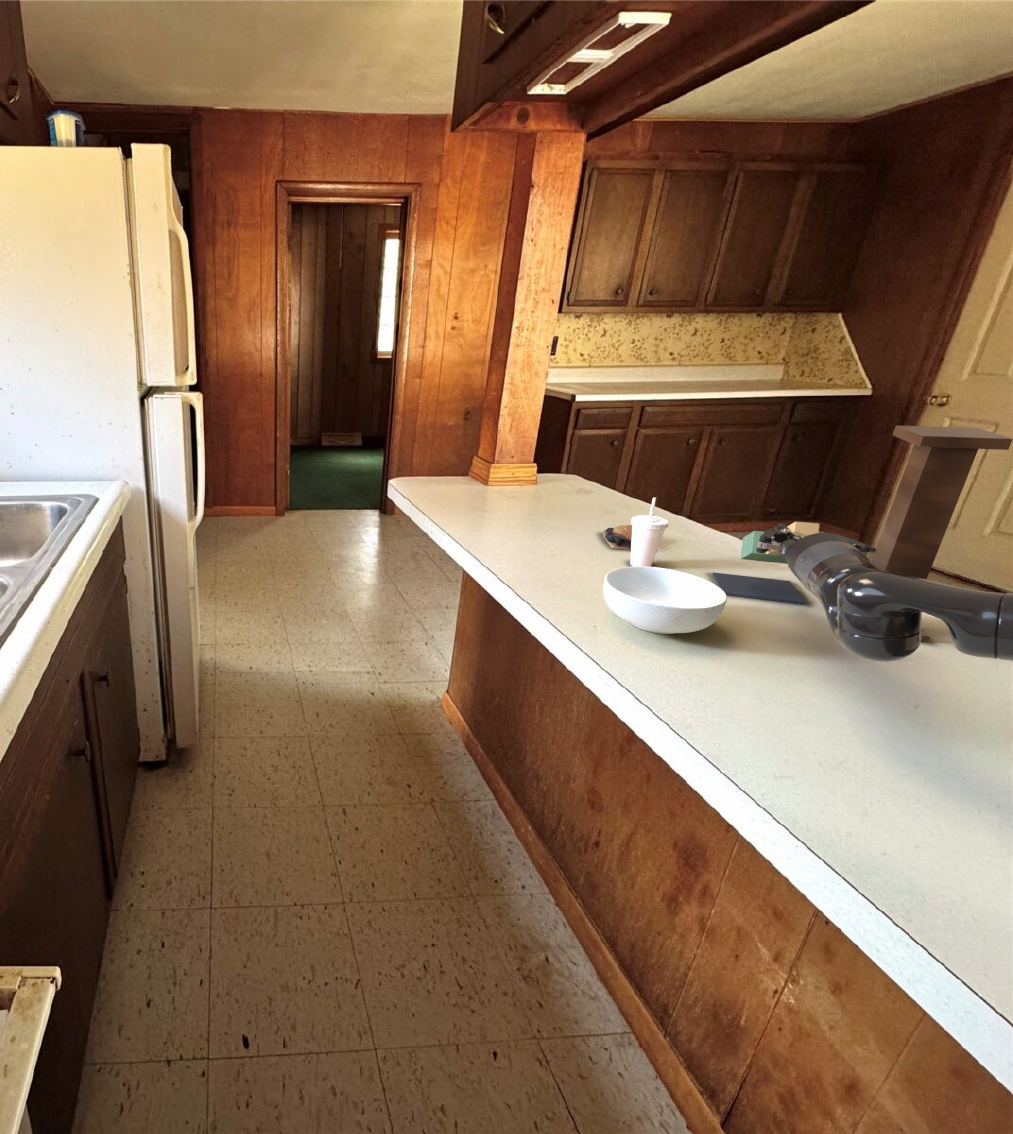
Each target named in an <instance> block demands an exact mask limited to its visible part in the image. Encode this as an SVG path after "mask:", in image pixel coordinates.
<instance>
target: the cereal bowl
mask: <svg viewBox="0 0 1013 1134" xmlns="http://www.w3.org/2000/svg"><path fill="white" fill-rule="evenodd" d="M602 587H603V588H602V589H603V590H602V592H603V599H604V601H605V603H606V606H608V608H609V609H610V610H611V611H612V613H614V615H616V616H618V617H619V618H620V619H622V620H623V621H626V622H628V623H630V624H631V625H632V626H633V627H636V628H638V629H640V630H642V631H646V632H649V633H653V634H658V635H659V634H660V635H674V634H687V633H688V634H689V633H694V632H698V631H702V630H704V629H706V628H709V627H711V626H712V625H713V624H714V623H715V622H717V620H718V619H719V618H720V616H721V615H722V614H723V612H724V610H725V606H726V605H727V604H726V603H727V600H728V595H726V594H725V592H724V591H723V590H722V589H721V588H719V587H718V585H717V584H716V583H713V582H711V581H709V580H707V579H705V578H703V577H699V576H696V575H694V574H691V573H688V572H684V571H680V570H675V569H672V568H665V567H664V568H663V567H658V566H651V567H648V566H632V565H631V566H623V567H618V568H614V569H612V570H610V571H609V572H607V573H606V574H605V576H604V579H603V586H602Z"/></svg>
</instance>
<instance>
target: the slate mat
mask: <svg viewBox="0 0 1013 1134" xmlns="http://www.w3.org/2000/svg"><path fill="white" fill-rule="evenodd" d="M711 576H712V577H713V579H714V581H715V584H716V586H718V587H719V588H721V589H722V590H723V591H724V592H725V594H726V596H732V597H738V598H739V597H740V598H747V599H757V600H764V601H771V602H772V601H773V602H779V603H789V604H797V605H807V601H806V600H805V599H804V597H803V596H802V594H800V592H799V590H798V589H797V588H796V587H795V585H794V584H793V583H792V581H790V580H785V579H776V578H767V577H757V576H748V575H741V574H731V573H722V572H712V575H711Z"/></svg>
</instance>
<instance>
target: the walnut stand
mask: <svg viewBox="0 0 1013 1134" xmlns="http://www.w3.org/2000/svg"><path fill="white" fill-rule="evenodd" d="M892 436H893V437H895V438H898V439H899V440H903V441H904V442H907V443H909V444H912V445H913V446H912V448H911V450H910V454H909V457H908V459H907V462H906V465H905V468H904V471H903V473H902V476H901V479H900V482H899V485H898V488H897V490H896V493H895V495H894V499H893V502H892V505H891V507H890V510H889V512H888V515H887V518H886V519H885V520H886V521H885V524H884V527H883V529H882V532H881V534H880V538H879V540H878V543H877V546H876V549H875V551H874V554H873V557H872V560H871V561H870V562H871V563H872V564H873V565H874V566H875V567H876V568H877V569H878V570H882V571H891V572H897V573H902V574H906V575H910V576H914V577H918V578H922V579H926V580H928V577H929V574H930V572H931V571H932V570H931V569H932V567H933V565H934V563H935V560H936V557H937V554H938V552H939V550H940V547H941V544H942V542H943V539H944V537H945V535H946V533H947V530H948V527H949V525H950V523H951V519H952V517H953V515H954V512H955V510H956V507H957V504H958V502H959V500H960V497H961V494H962V492H963V490H964V487H965V484H966V481H967V479H968V477H969V474H970V471H971V469H972V467H973V464H974V462H975V459H976V457H977V455H978V452H979V450H998V451H999V450H1001V451H1009V449H1010V447H1011V444H1012V442H1013V438H1011V437H1008V436H1004V435H1002V434H999V433H996V432H992V431H989V430H985V429H982V428H980V427H979V428H978V427H962V426H960V427H958V426H923V425H895V427H894V429H893V432H892ZM930 639H931V636H930V634H928V633H927V632H926V631H925V630H924V629H923V628H922V637H921V642H924V643H929V641H930Z"/></svg>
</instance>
